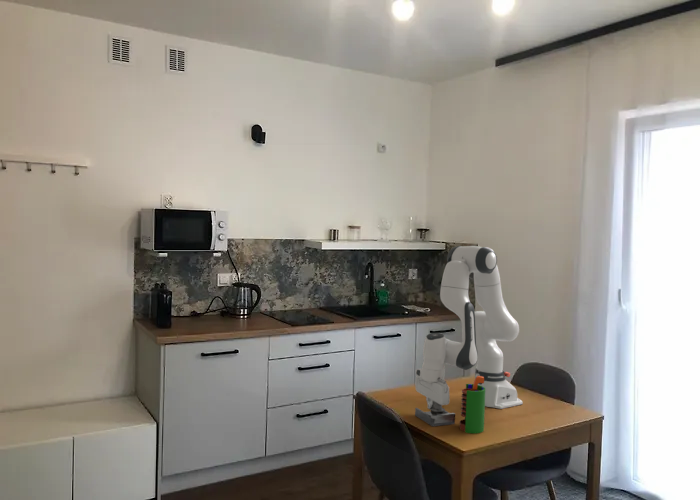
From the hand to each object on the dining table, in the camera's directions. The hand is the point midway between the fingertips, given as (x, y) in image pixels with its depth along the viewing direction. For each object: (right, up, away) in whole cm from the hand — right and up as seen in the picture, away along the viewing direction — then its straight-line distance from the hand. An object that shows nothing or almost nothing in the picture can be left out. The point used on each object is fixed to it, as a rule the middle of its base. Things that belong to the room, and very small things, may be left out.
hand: (431, 409), depth 228 cm
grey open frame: (+1, -3, -2) cm, 4 cm away
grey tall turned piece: (+2, -3, -4) cm, 5 cm away
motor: (+14, -5, -10) cm, 18 cm away
